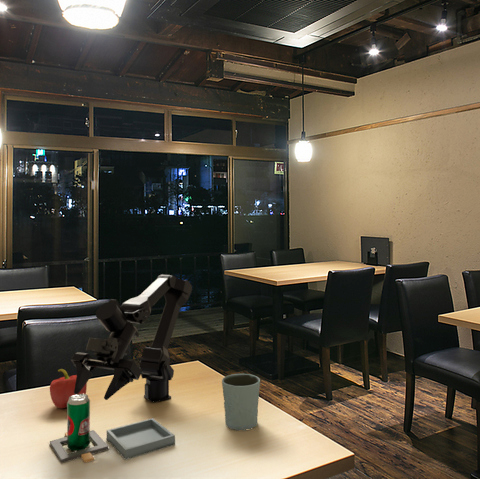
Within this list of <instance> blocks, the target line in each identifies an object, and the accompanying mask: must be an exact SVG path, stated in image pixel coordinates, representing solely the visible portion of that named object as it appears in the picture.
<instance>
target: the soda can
mask: <svg viewBox="0 0 480 479" xmlns="http://www.w3.org/2000/svg"><path fill="white" fill-rule="evenodd" d="M66 408H67V409H66V410H67V413H66V416H67V417H66V418H67V419H66V420H67V421H66V424H67V425H66V428H67V429H66V430H67V443H66V444H67V449H68V450H69V451H72V452H76V451H79V450H83V449H87V448H89V446H90V444H91V439H90V431H91V400H90V398H89V395H88V394H87V393H86V394H76V395H72V396H70V397H69V401H68V402H67V407H66Z"/></svg>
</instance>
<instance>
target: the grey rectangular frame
mask: <svg viewBox="0 0 480 479" xmlns="http://www.w3.org/2000/svg"><path fill="white" fill-rule="evenodd" d="M64 436H65V437H61V438H57V439H53V440H49V445H50V447H51V449H52V450H53V452H54V454H55V455H56V456H57V458H58V460H59V461H60V463H61V464H62V463H65V462H70V461H72V460H76V459H82V460H83V462H84V464H86V463H89V462H93V461H95V457H94V454H98V453H101V452H104V451H107V450H109V445H108V444H107V443H106V442H105V440H103V438H102V437H101V436H100V435H99V434H98V433H97V432H96V431H95V429H91V430H90V442H92V443H93V444H94V446H91V447H87V448H86V449H83V450H79V451H72V452H69V453H68V452H67V451H66V449H65V447H63V445H66V444H67V432H64Z"/></svg>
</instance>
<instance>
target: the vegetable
mask: <svg viewBox="0 0 480 479" xmlns="http://www.w3.org/2000/svg"><path fill="white" fill-rule="evenodd" d="M57 372H58V373H62V374H63V376H62V377H59V378H57V379H53V380H52V381H51V383H50V385H49V394H50V398H51V401H52V402H51V403H53V405H54V406H55V407H56V408H58V409H65V408H67V402H68V401H69V397H70V396H72V395H76V394H75V393H74V389H75V383H76V377H77V374H75V375H73V374H72V375H69V374H68V372H67V371H66V370H65V369H63V368H60V369H58V370H57ZM87 386H88V382H87V383H86V384H85V386H84V387H83V388H82V390H81V391H80V392H79V393H78V394H86V395H87Z"/></svg>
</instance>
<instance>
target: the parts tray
mask: <svg viewBox="0 0 480 479" xmlns="http://www.w3.org/2000/svg"><path fill="white" fill-rule="evenodd" d="M106 440H107V441H108V443H110V444H111V446H112V447H114V449H115V450H116V451H117V452H118V453H119V454H120V455H121V457H122V458H123V459H124V460H130V459H132V458H136V457H139V456H142V455H145V454H149V453H152V452H154V451H155V452H156V451H159V450H161V449H162V450H163V449H166V448H168V447H171V446H175V445H176V435H175V434H174V433H173V432H171V431H170V430H169V429H168V428H166V427H165V426H163V425H162V423H160V422H159V421H157V420H156V419H155V418H153V417H152V418H149V419H144V420H141V421H136V422H134V423H133V422H132V423H129V424H125V425H121V426H117V427H113V428H109V429H106Z"/></svg>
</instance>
